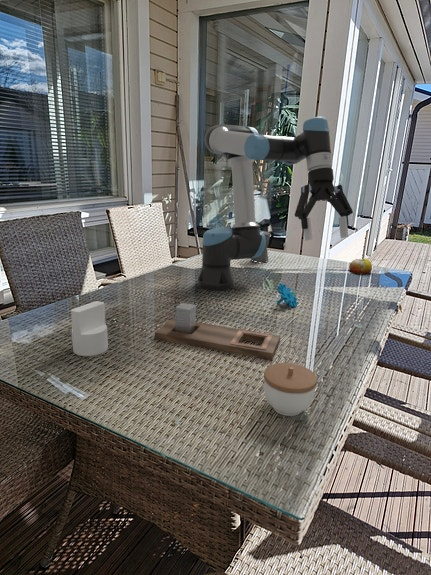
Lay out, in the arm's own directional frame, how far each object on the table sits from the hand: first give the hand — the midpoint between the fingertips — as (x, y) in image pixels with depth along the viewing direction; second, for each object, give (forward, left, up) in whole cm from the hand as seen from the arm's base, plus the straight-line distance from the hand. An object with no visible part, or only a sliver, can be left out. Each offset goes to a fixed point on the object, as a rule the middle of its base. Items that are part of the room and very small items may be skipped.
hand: (326, 238), depth 123 cm
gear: (-13, -12, -28) cm, 33 cm away
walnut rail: (+27, -26, -28) cm, 46 cm away
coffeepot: (-78, -36, -28) cm, 91 cm away
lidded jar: (+53, -2, -28) cm, 60 cm away
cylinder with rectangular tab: (+45, -56, -28) cm, 77 cm away
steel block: (+27, -36, -28) cm, 53 cm away
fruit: (-78, +14, -28) cm, 85 cm away
